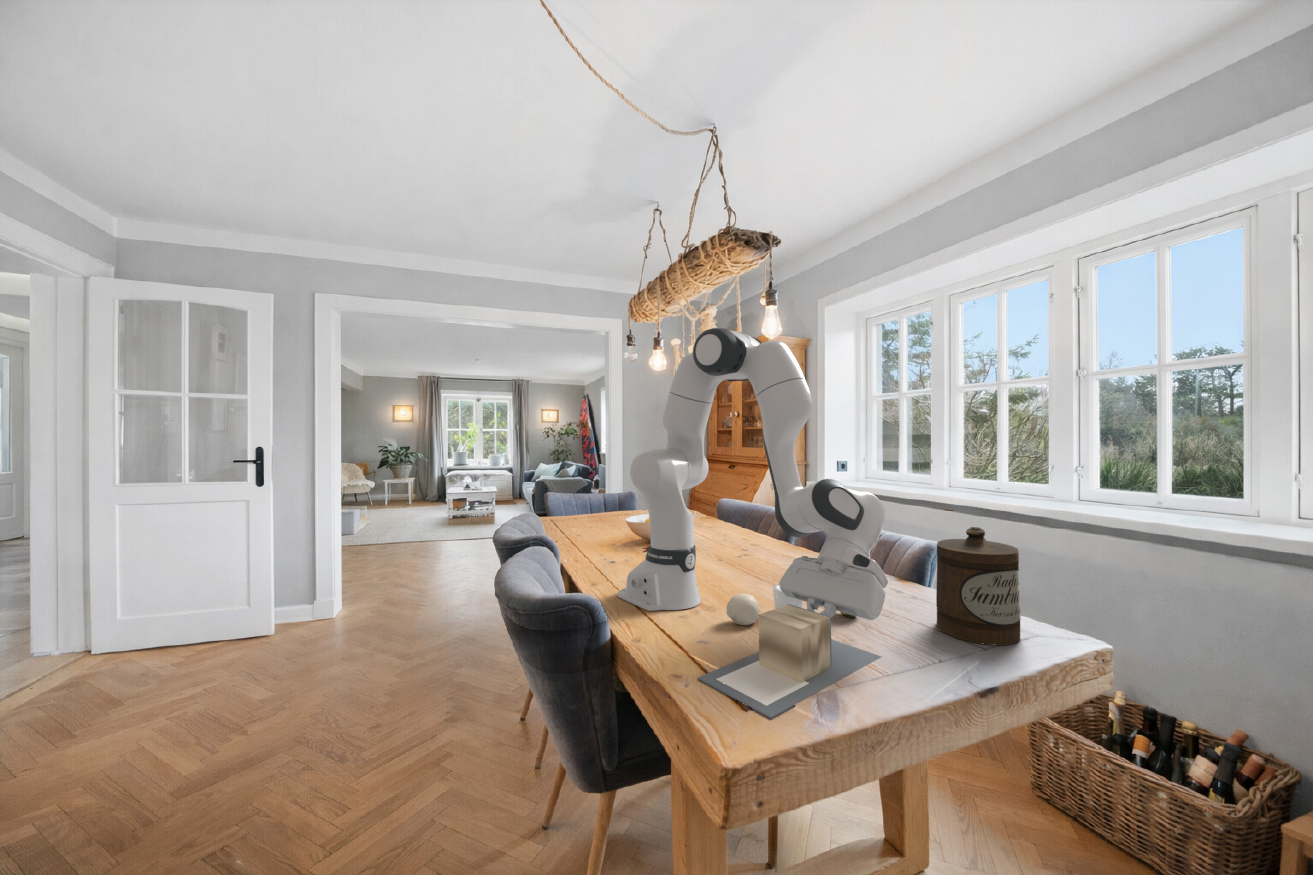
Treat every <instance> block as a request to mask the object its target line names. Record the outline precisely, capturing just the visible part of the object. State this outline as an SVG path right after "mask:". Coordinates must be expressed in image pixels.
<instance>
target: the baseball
mask: <svg viewBox="0 0 1313 875" xmlns="http://www.w3.org/2000/svg"><path fill="white" fill-rule="evenodd" d="M759 614H760V606H759V603H758V601H757V600H756V598H755V597H754V596H753V595H751V594H749V593H737V594H735V595H733V596H732V597H731V598H730V600H729V601H728V603H727V605H726V615H727V617H728V618H730V620H732V621H733V622H734V623H735V624H737V625H740V626H743V627H744V626H745V627H746V626H750V625H752V624H754V623H755V622H756V621H757V620H758V619H759Z"/></svg>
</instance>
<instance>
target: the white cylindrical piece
mask: <svg viewBox="0 0 1313 875" xmlns="http://www.w3.org/2000/svg"><path fill="white" fill-rule="evenodd" d="M772 590H773V591H772V592H773V599H774V609H777V608H779V607H782V606H785V605H788V604H790V605H794V606H797V607H800V608H803V605H804V604H803V602H804V601H801V600H798V599H794V598H791V597H787V596H786V595H785V594H784V593H783V592H782V590H781V589H780V586H779V583H778V584H776V585H773V586H772Z"/></svg>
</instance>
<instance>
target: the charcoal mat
mask: <svg viewBox="0 0 1313 875" xmlns="http://www.w3.org/2000/svg"><path fill="white" fill-rule="evenodd" d="M882 657H883V656H881V655H878V654H875V653H873V652H870V651H866V650H864V649H862V648H859V647H855V646H852V645H850V644H846V643H843V642H841V641H838V640H835V639H832V638H831V662H832V667H831V668H829V669H827V670H825V671H823V672H821V673H819V674H817V675H815V676H813V677H812V678H810V679H808V680H806V681H804V682H802V683H800V682H798V681H796V680H794V679H791V678H789V677H787V676H785V675H782V674H780V673H778V672H775V671H773V670H771V669H769V668H766V667H764V666H762V665H760V664H759V651H758V652H754V653H753V654H751V655H748V656H745V657H743V658H741V659H738V660H736V661H733V662H732V663H731V662H730V663H728V664H727V665H724V666H722V667H719V668H717V669H714V670H713V671H712V670H711V671H709V672H707V673H705V674H703V675H699V676H698V677H697V680H698V681H700V682H702V683H703V684H706V685H707V686H708V687H711V688H713V689H714V690H716V691H719V692H720V693H722V694H724V695H726V696H727V697H729V698H731V699H733V700H735V701H736V700H738V701H740V702H742V703H744V704H746V705H747V706H749V707H751V708H752V709H751V708H750V709H751V710H753V711H755V712H757V713H759V714H760V715H762V716H764V717H766V718H768V719H770V720H774V718H776V717H779V716H780V715H782V714H784V713H787V711H789V710H791V709H793V708H794V707H796V705H797V704H799V703H801V702H803V701H805V700H806V699H809V697H811V696H813V695H815V694H817V693H819V692H821V691H823V690H824V689H826V688H828V687H829V686H831V685H833V684H835V683H837V682H839V681H840V680H842V679H844V678H847V677H849V675H851V674H853V673H856V672H857V671H859V670H860V669H862V668H865V667H866V666H869V665H870V664H872V663H873V662H875V661H877V660H878V659H879V660H880V658H882ZM723 683H725V684H723ZM738 701H737V702H738ZM740 702H739V703H740ZM742 703H741V704H742ZM744 704H743V705H744ZM746 705H745V706H746ZM747 706H746V707H747ZM749 707H748V708H749Z"/></svg>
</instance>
